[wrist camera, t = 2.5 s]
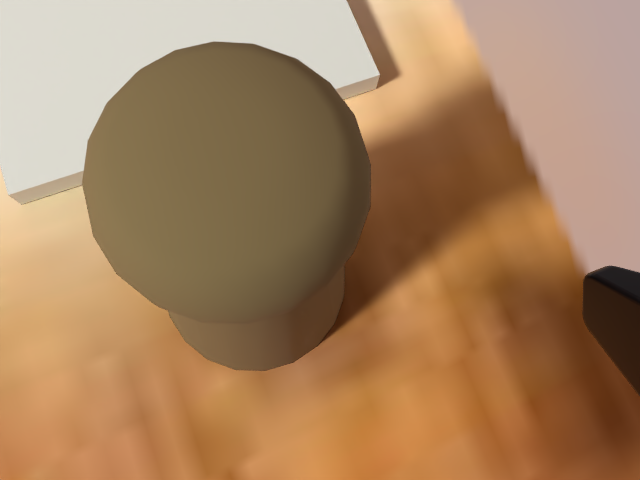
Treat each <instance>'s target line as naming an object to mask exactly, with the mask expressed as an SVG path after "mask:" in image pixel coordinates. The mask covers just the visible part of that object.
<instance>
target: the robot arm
mask: <svg viewBox="0 0 640 480" xmlns="http://www.w3.org/2000/svg"><path fill="white" fill-rule="evenodd" d="M583 319H584V322H585V324H586V326H587V328H588V330H589V331H590V332H591V334H592V335H593V336H594V338H595V339H596V340H597V342H598V343H599V344H600V345H601V347H602V348H603V349H604V351H605V352H606V353H607V355H608V356H609V357H610V358H611V360H612V361H613V362H614V364H615V365H616V366H617V368H618V369H619V370H620V371H621V373H622V374H623V375H624V377H625V378H626V379H627V381H628V382H629V383H630V385H631V386H632V387H633V388H634V390H635V391H636V392H637V394H638V395H639V396H640V273H639V272H635V271H631V270H628V269H624V268H620V267H616V266H606V267H603V268H600V269H598V270H595V271H593V272H590V273H588V274H587V275H586V276H585V278H584V280H583Z"/></svg>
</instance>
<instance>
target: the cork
mask: <svg viewBox="0 0 640 480" xmlns="http://www.w3.org/2000/svg"><path fill="white" fill-rule="evenodd" d="M82 185H83V190H84V194H85V199H86V204H87V209H88V213H89V218H90V223H91V228H92V232H93V237H94V238H95V240H96V241H97V243H98V245H99V246H100V248H101V250H102V251H103V253H104V254H105V256H106V258H107V259H108V261H109V263H110V264H111V266H112V267H113V269H114V271H115V272H116V274H117V275H118V276H120V277H121V278H122V279H123V280H125V281H126V282H127V283H128V284H130V285H131V286H132V287H133V288H135V289H136V290H137V291H138V292H139V293H141V294H142V295H143V296H144V297H146V298H147V299H148V300H149V301H151V302H152V303H153V304H155V305H156V306H158V307H160V308H162V309H165V310H168V312H169V315H170V318H171V319H172V321H173V322H174V324H175V326H176V327H177V329H178V330H179V332H180V334H181V335H182V337H183V338H184V340H185V342H187V343H188V344H189V345H190V346H192V347H193V348H194V349H195V350H197V351H198V352H199V353H200V354H201V355H203V356H204V357H205V358H206V359H208V360H210V361H213V362H215V363H218V364H221V365H224V366H226V367H229V368H232V369H234V370H255V371H266V370H269V369H273V368H276V367H280V366H283V365H286V364H290V363H293V362H295V361H296V360H298V359H299V358H301V357H302V356H303V355H305V354H306V353H308V352H309V351H311V350H312V349H314V348H315V347H317V346H318V344H319V343H320V342H321V341H322V339H323V338H324V337H325V335H326V334H327V333H328V331H329V330H330V329H331V327H332V326H333V325H334V324H335V321H336V318H337V316H338V313H339V310H340V307H341V304H342V301H343V298H344V281H345V267H344V264H345V263H346V262H347V260H348V259H349V258H350V256H351V255H352V254H353V252H354V250H355V248H356V246H357V243H358V240H359V237H360V235H361V232H362V229H363V226H364V223H365V220H366V218H367V215H368V212H369V209H370V193H371V164H370V161H369V157H368V154H367V151H366V148H365V145H364V142H363V139H362V136H361V133H360V130H359V127H358V124H357V121H356V118H355V115H354V114H353V112H352V111H351V110H350V108H349V107H348V106H347V104H346V103H345V102H344V100H343V99H342V98H341V96H340V95H339V94H338V92H337V91H336V90H335V88H334V87H333V86H332V84H331V83H330V82H329V81H327V80H326V79H324V78H323V77H322V76H320V75H319V74H318V73H316V72H315V71H313V70H312V69H311V68H309V67H308V66H306V65H305V64H304V63H302V62H301V61H300V60H298V59H296V58H294V57H291V56H288V55H285V54H282V53H279V52H276V51H273V50H271V49H268V48H265V47H262V46H259V45H256V44H251V43H234V42H216V41H213V42H209V43H204V44H200V45H195V46H191V47H186V48H182V49H178V50H174V51H172V52H171V53H169V54H167V55H165V56H163V57H162V58H160V59H158V60H156V61H154V62H152V63H151V64H149V65H147V66H145V67H143V68H141V69H140V70H139V71H138V72H136V73H135V74H134V75H133V76H132V77H131V79H130V80H129V81H128V82H127V83H126V84H125V85H124V86H123V87H122V88H121V89H120V90H119V91H118V92H117V93H116V94H115V95H114V96H113V97H112V98H111V99H110V100H109V101H108V102H107V103H106V105H105V107H104V109H103V111H102V113H101V115H100V117H99V119H98V121H97V123H96V125H95V127H94V129H93V131H92V133H91V135H90V137H89V139H88V142H87V150H86V157H85V164H84V172H83V179H82Z"/></svg>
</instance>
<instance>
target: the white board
mask: <svg viewBox="0 0 640 480" xmlns="http://www.w3.org/2000/svg"><path fill="white" fill-rule="evenodd" d="M213 41H216V42H234V43H251V44H256V45H259V46H262V47H265V48H268V49H271V50H273V51H276V52H279V53H282V54H285V55H288V56H291V57H294V58H296V59H298V60H300V61H301V62H302V63H304V64H305V65H306V66H308V67H309V68H311V69H312V70H313V71H315V72H316V73H318V74H319V75H320V76H322V77H323V78H324V79H326V80H327V81H329V82H330V83H331V84H332V86H333V87H334V88H335V90H336V91H337V92H338V94H339V95H340V96H341V98H342V99H346V98H349V97H352V96H356V95H359V94H362V93H365V92H368V91H371V90H374V89H376V87H377V83H378V80H379V77H380V74H379V71H378V69H377V67H376V65H375V62H374V60H373V58H372V56H371V54H370V51H369V49H368V47H367V45H366V42H365V40H364V38H363V36H362V33H361V31H360V29H359V27H358V25H357V22H356V20H355V18H354V16H353V13H352V11H351V9H350V7H349V5H348V2H347V0H0V167H1V170H2V174H3V178H4V181H5V185H6V188H7V192H8V195H9V196H10V197H12V198H13V199H14V200H16V201H17V202H19V203H20V204H21V205H22V204H25V203H28V202H31V201H34V200H37V199H40V198H43V197H46V196H49V195H53V194H56V193H59V192H62V191H65V190H68V189H71V188H74V187H77V186H80V185H82V179H83V172H84V164H85V157H86V150H87V142H88V139H89V137H90V135H91V133H92V131H93V129H94V127H95V125H96V123H97V121H98V119H99V117H100V115H101V113H102V111H103V109H104V107H105V105H106V103H107V102H108V101H109V100H110V99H111V98H112V97H113V96H114V95H115V94H116V93H117V92H118V91H119V90H120V89H121V88H122V87H123V86H124V85H125V84H126V83H127V82H128V81H129V80H130V79H131V77H132V76H133V75H134V74H135V73H136V72H138V71H139V70H140V69H141V68H143V67H145V66H147V65H149V64H151V63H152V62H154V61H156V60H158V59H160V58H162V57H163V56H165V55H167V54H169V53H171V52H172V51H174V50H178V49H182V48H186V47H191V46H195V45H200V44H204V43H209V42H213Z"/></svg>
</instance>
